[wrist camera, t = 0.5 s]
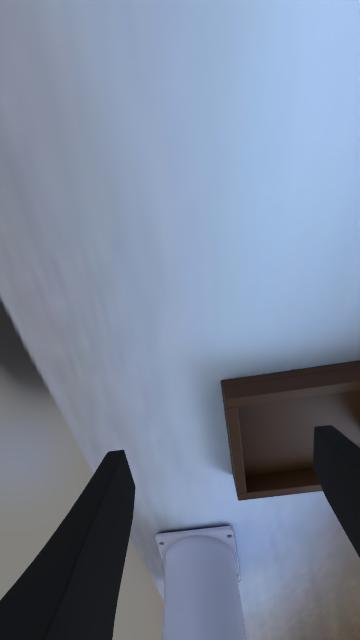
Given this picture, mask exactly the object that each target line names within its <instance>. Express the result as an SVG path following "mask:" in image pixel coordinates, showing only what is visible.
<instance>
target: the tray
mask: <svg viewBox="0 0 360 640" xmlns="http://www.w3.org/2000/svg"><path fill="white" fill-rule="evenodd" d="M221 388H222V395H223V403H224V411H225V418H226V426H227V433H228V441H229V449H230V456H231V464H232V471H233V478H234V483H235V487H236V492H237V497H238V500H248V499H256V498H265V497H273V496H282V495H290V494H299V493H308V492H316V491H323V489H322V487H321V485H320V483H319V480H318V478H317V476H316V473H315V471H314V469H313V450H314V427H317V426H326V425H332V426H333V427H335V428H336V429H337V430H339V431H340V432H341V433H342V434H344V435H345V436H346V437H347V438H348V439H350V440H351V441H352V442H353V443H355V444H356V445H357V446H358V447H360V361H354V362H347V363H340V364H333V365H326V366H319V367H312V368H305V369H298V370H291V371H284V372H277V373H270V374H263V375H256V376H249V377H242V378H235V379H229V380H222V381H221Z"/></svg>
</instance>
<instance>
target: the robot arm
mask: <svg viewBox="0 0 360 640" xmlns="http://www.w3.org/2000/svg"><path fill="white" fill-rule="evenodd" d="M313 469H314V471H315V473H316V476H317V478H318V480H319V483H320V485H321V487H322V489H323V492H324V494H325V496H326V498H327V500H328V502H329V504H330V506H331V507H332V509H333V511H334V513H335V515H336V516H337V518H338V520H339V522H340V524H341V525H342V527H343V529H344V531H345V532H346V534H347V536H348V538H349V540H350V541H351V543H352V545H353V547H354V548H355V550H356V552H357V554H358V556H359V557H360V447H358V446H357V445H356V444H355V443H353V442H352V441H351V440H350V439H348V438H347V437H346V436H345V435H344V434H342V433H341V432H340V431H339V430H337V429H336V428H335V427H333V426H332V425H326V426H317V427H314V450H313ZM134 498H135V484H134V481H133V478H132V474H131V471H130V468H129V465H128V461H127V458H126V455H125V452H124V450H118V451H110V452H108V453H107V454H106V456H105V457H104V459H103V460H102V462H101V464H100V465H99V467H98V469H97V470H96V472H95V473H94V475H93V477H92V478H91V480H90V481H89V483H88V484H87V486H86V487H85V489H84V491H83V492H82V494H81V495H80V497H79V498H78V500H77V501H76V503H75V504H74V506H73V507H72V509H71V510H70V512H69V513H68V515H67V516H66V517H65V519H64V520H63V521H62V523H61V524H60V526H59V527H58V528H57V530H56V531H55V533H54V534H53V535H52V537H51V538H50V539H49V541H48V542H47V543H46V545H45V546H44V548H43V549H42V550H41V551H40V553H39V554H38V555H37V557H36V558H35V559H34V561H33V562H32V563H31V564H30V565H29V567H28V568H27V569H26V570H25V572H24V573H23V574H22V575H21V577H20V578H19V579H18V580H17V581H16V583H15V584H14V585H13V586H12V588H11V589H10V590H9V591H8V592H7V593H6V594H5V596H4V597H3V598H2V599H1V600H0V640H112V637H113V628H114V620H115V613H116V607H117V600H118V595H119V589H120V583H121V578H122V573H123V567H124V563H125V557H126V552H127V546H128V541H129V536H130V531H131V525H132V519H133V510H134ZM156 542H157V545H158V548H159V552H160V555H161V558H162V561H163V564H164V567H165V581H164V608H163V632H162V640H247V636H246V630H245V624H244V618H243V612H242V605H241V599H240V593H239V587H238V582H240V580H241V578H240V571H239V564H238V557H237V551H236V544H235V537H234V530H233V527H231V526H222V527H213V528H205V529H196V530H187V531H178V532H169V533H160V534H157V536H156Z"/></svg>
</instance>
